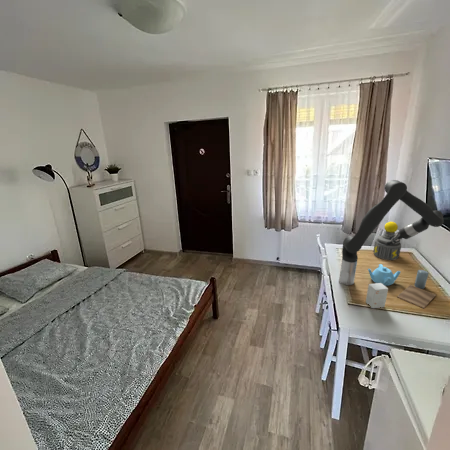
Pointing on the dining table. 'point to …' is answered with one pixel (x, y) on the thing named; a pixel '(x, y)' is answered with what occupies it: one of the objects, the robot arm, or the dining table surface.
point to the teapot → (383, 275)
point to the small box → (376, 295)
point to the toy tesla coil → (391, 250)
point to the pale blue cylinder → (421, 279)
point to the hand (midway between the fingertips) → (387, 241)
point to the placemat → (416, 296)
